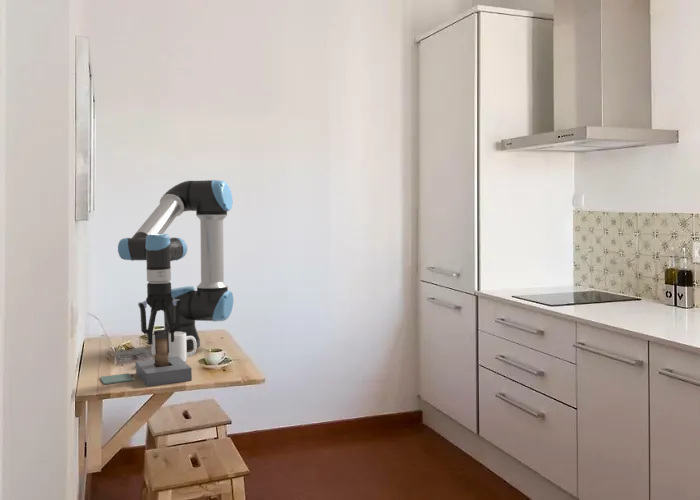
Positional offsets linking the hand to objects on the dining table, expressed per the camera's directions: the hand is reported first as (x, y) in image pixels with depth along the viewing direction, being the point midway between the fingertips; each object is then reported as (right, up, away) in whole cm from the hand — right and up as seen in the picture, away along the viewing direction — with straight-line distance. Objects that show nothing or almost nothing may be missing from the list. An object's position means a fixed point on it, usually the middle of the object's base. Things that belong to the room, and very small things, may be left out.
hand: (161, 352), depth 223 cm
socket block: (0, -8, +1) cm, 8 cm away
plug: (0, -6, 0) cm, 6 cm away
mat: (-14, -8, -2) cm, 16 cm away
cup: (+1, -6, +21) cm, 22 cm away
